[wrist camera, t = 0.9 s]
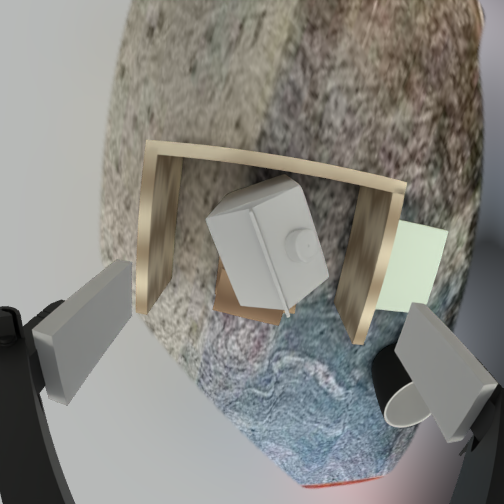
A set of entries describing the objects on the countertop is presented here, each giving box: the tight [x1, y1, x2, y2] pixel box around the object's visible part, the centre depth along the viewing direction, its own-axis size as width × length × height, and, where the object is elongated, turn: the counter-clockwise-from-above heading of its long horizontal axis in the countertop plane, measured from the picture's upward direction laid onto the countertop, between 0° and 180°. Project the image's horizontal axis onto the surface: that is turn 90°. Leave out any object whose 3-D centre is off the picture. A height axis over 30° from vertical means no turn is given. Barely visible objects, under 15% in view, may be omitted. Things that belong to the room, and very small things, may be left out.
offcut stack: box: [213, 256, 296, 326], centre depth 36 cm, size 6×9×8 cm, turn 81°
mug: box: [372, 344, 431, 427], centre depth 38 cm, size 12×9×10 cm
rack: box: [136, 140, 407, 345], centre depth 33 cm, size 17×23×10 cm
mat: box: [375, 220, 448, 312], centre depth 39 cm, size 12×12×1 cm
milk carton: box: [205, 174, 329, 317], centre depth 28 cm, size 7×7×19 cm
